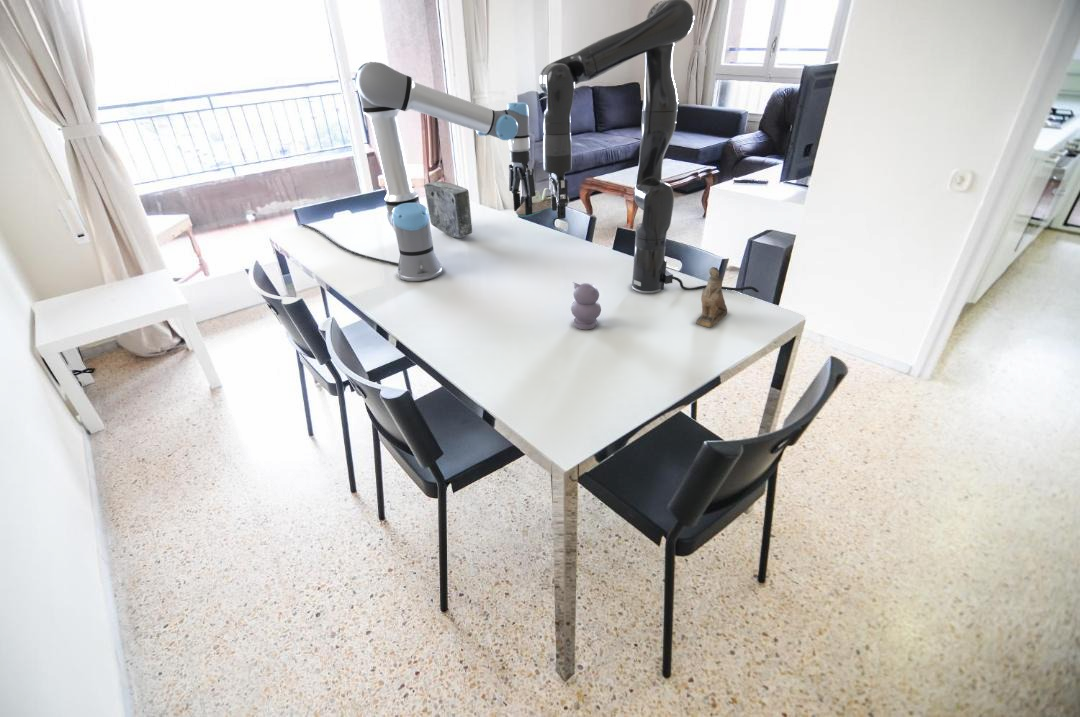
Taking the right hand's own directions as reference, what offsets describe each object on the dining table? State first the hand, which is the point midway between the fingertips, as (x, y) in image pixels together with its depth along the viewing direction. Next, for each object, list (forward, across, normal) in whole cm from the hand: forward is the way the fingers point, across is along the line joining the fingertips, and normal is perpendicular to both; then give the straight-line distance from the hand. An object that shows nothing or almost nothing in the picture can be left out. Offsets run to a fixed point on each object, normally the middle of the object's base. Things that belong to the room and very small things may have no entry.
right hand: (558, 214), depth 138 cm
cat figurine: (+27, -16, -4) cm, 32 cm away
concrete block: (+27, +77, +32) cm, 88 cm away
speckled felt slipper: (+15, +62, -5) cm, 64 cm away
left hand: (+14, +58, +3) cm, 59 cm away
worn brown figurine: (+27, -20, -40) cm, 52 cm away
